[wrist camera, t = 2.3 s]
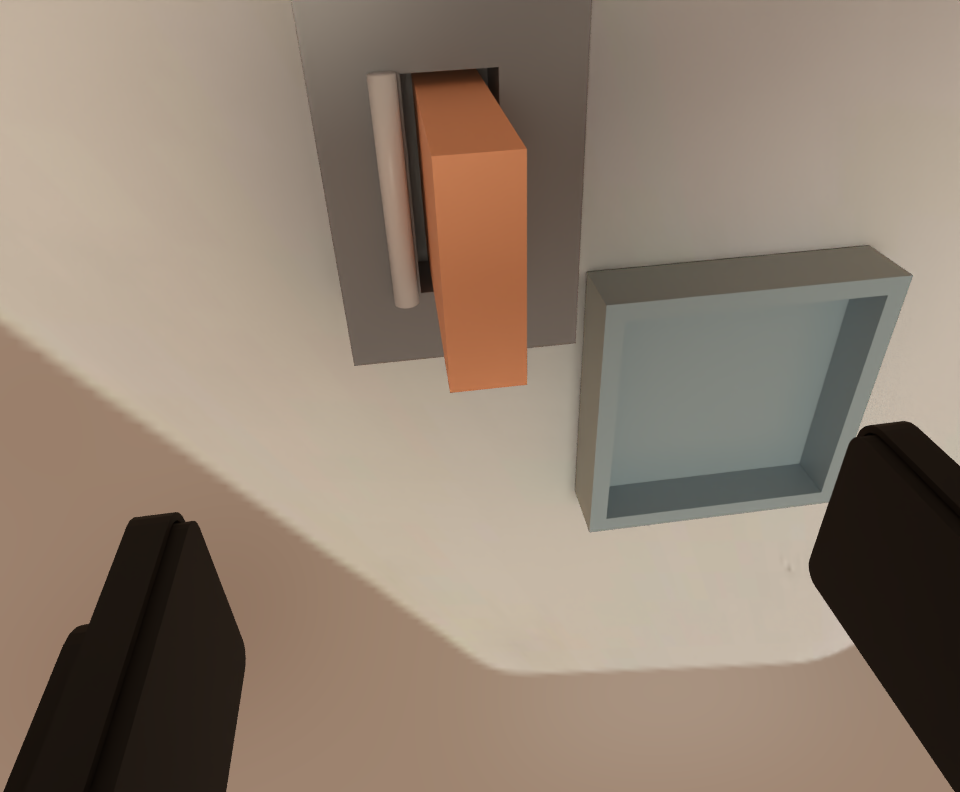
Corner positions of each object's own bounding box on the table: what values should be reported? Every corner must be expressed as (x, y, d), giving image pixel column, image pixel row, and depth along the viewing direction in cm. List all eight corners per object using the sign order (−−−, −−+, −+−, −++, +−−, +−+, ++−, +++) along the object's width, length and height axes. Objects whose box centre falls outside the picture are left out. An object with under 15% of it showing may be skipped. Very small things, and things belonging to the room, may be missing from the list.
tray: (869, 245, 30) (913, 275, 28) (802, 463, 38) (832, 502, 35) (586, 272, 29) (606, 305, 27) (574, 490, 37) (589, 532, 34)
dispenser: (553, -57, 22) (602, -46, 18) (547, 282, 29) (580, 354, 25) (301, -43, 22) (282, -28, 17) (356, 300, 29) (353, 378, 24)
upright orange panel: (474, 66, 22) (526, 148, 14) (481, 245, 25) (527, 384, 18) (410, 70, 22) (431, 156, 14) (426, 250, 25) (450, 392, 18)
